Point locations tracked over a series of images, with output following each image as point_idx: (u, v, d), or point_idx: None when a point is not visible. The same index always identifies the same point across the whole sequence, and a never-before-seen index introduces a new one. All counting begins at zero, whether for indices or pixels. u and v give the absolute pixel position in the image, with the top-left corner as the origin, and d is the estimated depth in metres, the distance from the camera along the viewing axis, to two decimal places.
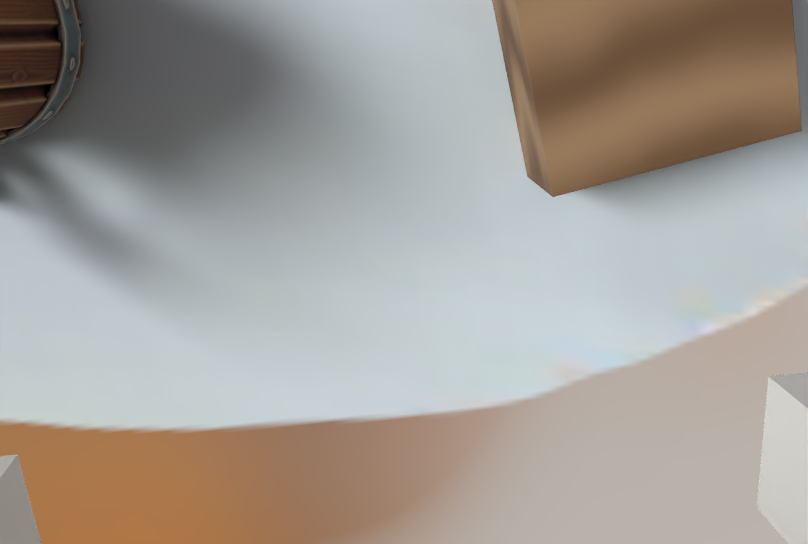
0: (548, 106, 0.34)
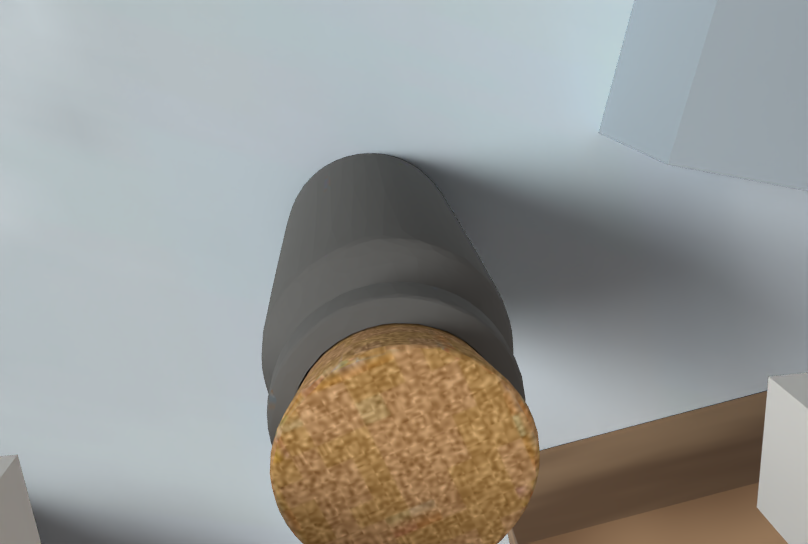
0: None
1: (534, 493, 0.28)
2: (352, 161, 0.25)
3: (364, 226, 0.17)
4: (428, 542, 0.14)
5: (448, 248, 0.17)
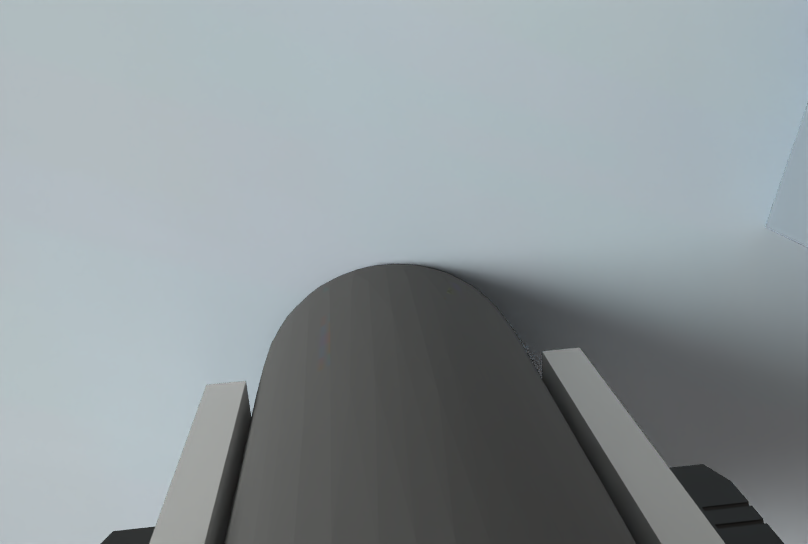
0: None
1: None
2: (368, 286, 0.15)
3: None
4: None
5: None
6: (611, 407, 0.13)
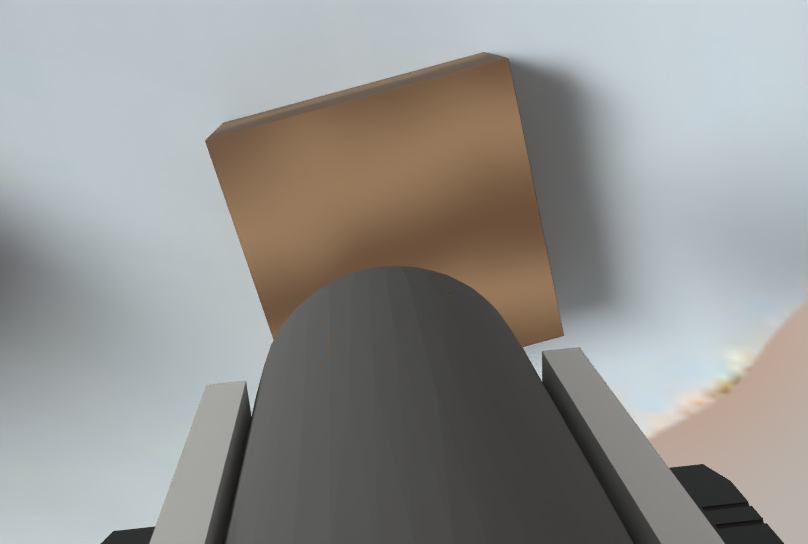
0: (281, 320, 0.32)
1: (242, 123, 0.31)
2: (367, 288, 0.15)
3: None
4: None
5: None
6: (611, 407, 0.13)
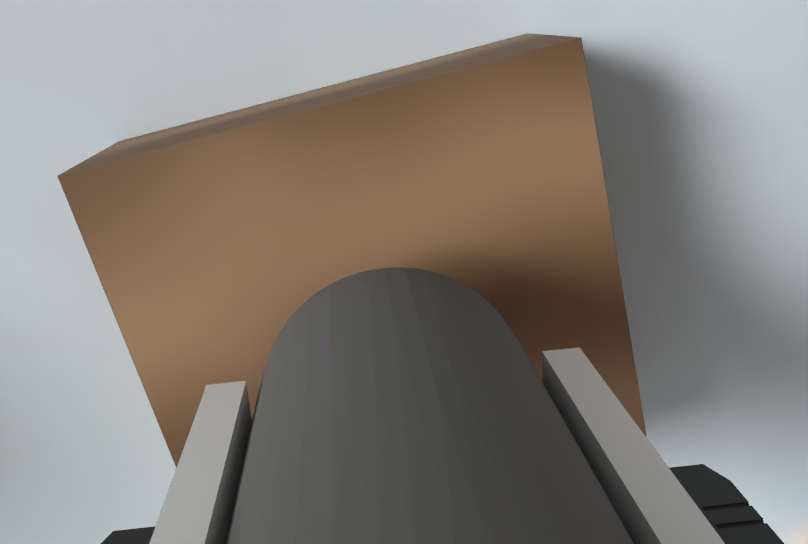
0: None
1: (137, 144, 0.19)
2: (368, 290, 0.15)
3: None
4: None
5: None
6: (611, 407, 0.13)
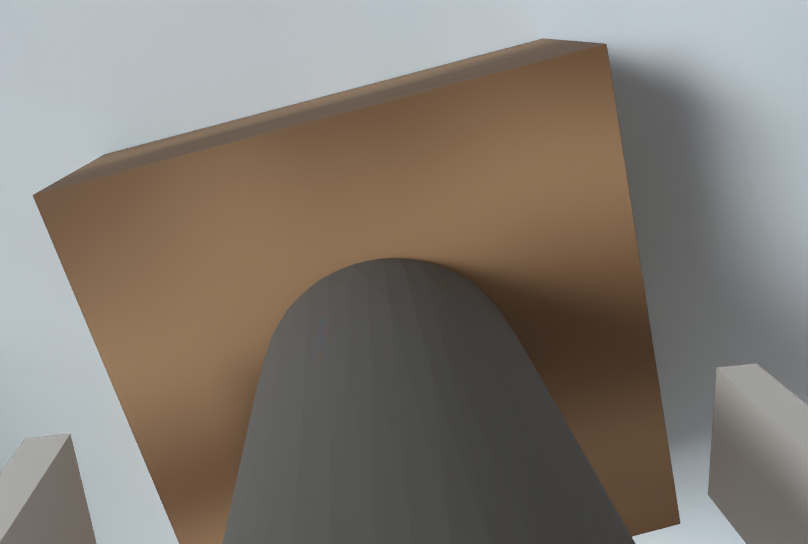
0: (189, 505, 0.18)
1: (123, 159, 0.18)
2: (366, 279, 0.15)
3: None
4: None
5: None
6: None
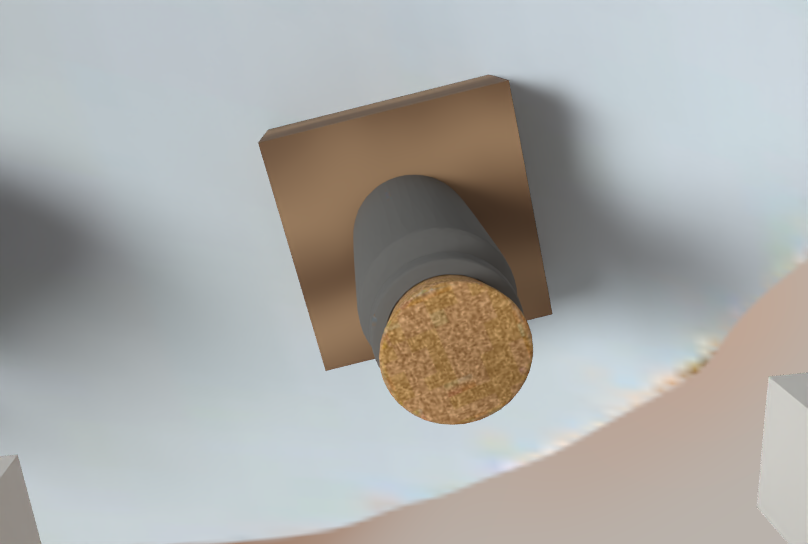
0: (315, 294, 0.38)
1: (286, 130, 0.38)
2: (403, 180, 0.35)
3: (423, 220, 0.27)
4: (468, 400, 0.23)
5: (477, 234, 0.27)
6: None
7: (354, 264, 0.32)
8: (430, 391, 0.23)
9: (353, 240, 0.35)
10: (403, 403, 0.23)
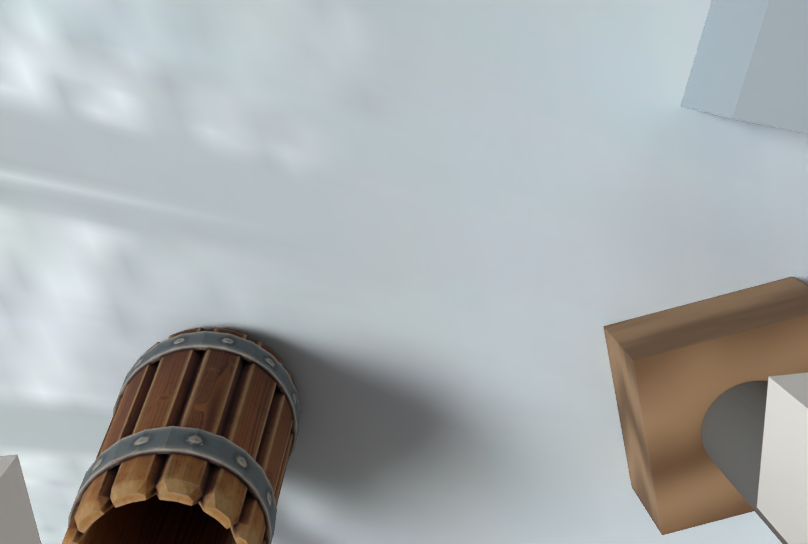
0: (662, 476, 0.45)
1: (637, 337, 0.44)
2: (758, 392, 0.42)
3: None
4: None
5: None
6: None
7: (749, 481, 0.39)
8: None
9: (716, 442, 0.42)
10: None
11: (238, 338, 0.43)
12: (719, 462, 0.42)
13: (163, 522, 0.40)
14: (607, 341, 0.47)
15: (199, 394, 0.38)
